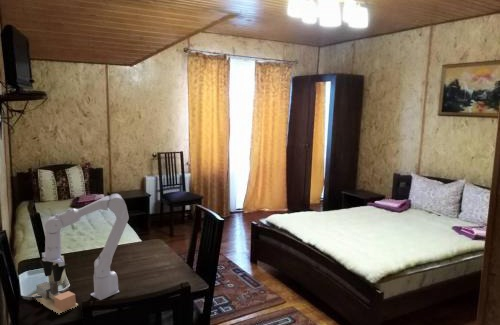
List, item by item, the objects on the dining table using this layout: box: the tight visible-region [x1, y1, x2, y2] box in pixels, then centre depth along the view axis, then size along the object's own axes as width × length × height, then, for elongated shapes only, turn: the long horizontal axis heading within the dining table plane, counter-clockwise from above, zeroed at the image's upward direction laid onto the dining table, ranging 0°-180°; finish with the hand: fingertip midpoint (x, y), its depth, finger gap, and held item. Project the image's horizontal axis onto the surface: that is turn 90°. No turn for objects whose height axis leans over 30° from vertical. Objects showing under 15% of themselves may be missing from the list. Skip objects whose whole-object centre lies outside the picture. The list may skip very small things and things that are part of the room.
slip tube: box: [47, 281, 62, 300], centre depth 158 cm, size 2×15×7 cm, turn 53°
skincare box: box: [47, 255, 67, 285], centre depth 175 cm, size 6×4×12 cm
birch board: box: [31, 293, 79, 315], centre depth 158 cm, size 8×23×1 cm, turn 54°
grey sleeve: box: [36, 281, 50, 300], centre depth 161 cm, size 4×8×4 cm, turn 54°
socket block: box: [54, 290, 77, 311], centre depth 152 cm, size 6×5×5 cm
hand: (52, 278), depth 156 cm, fingers open, 7 cm apart
